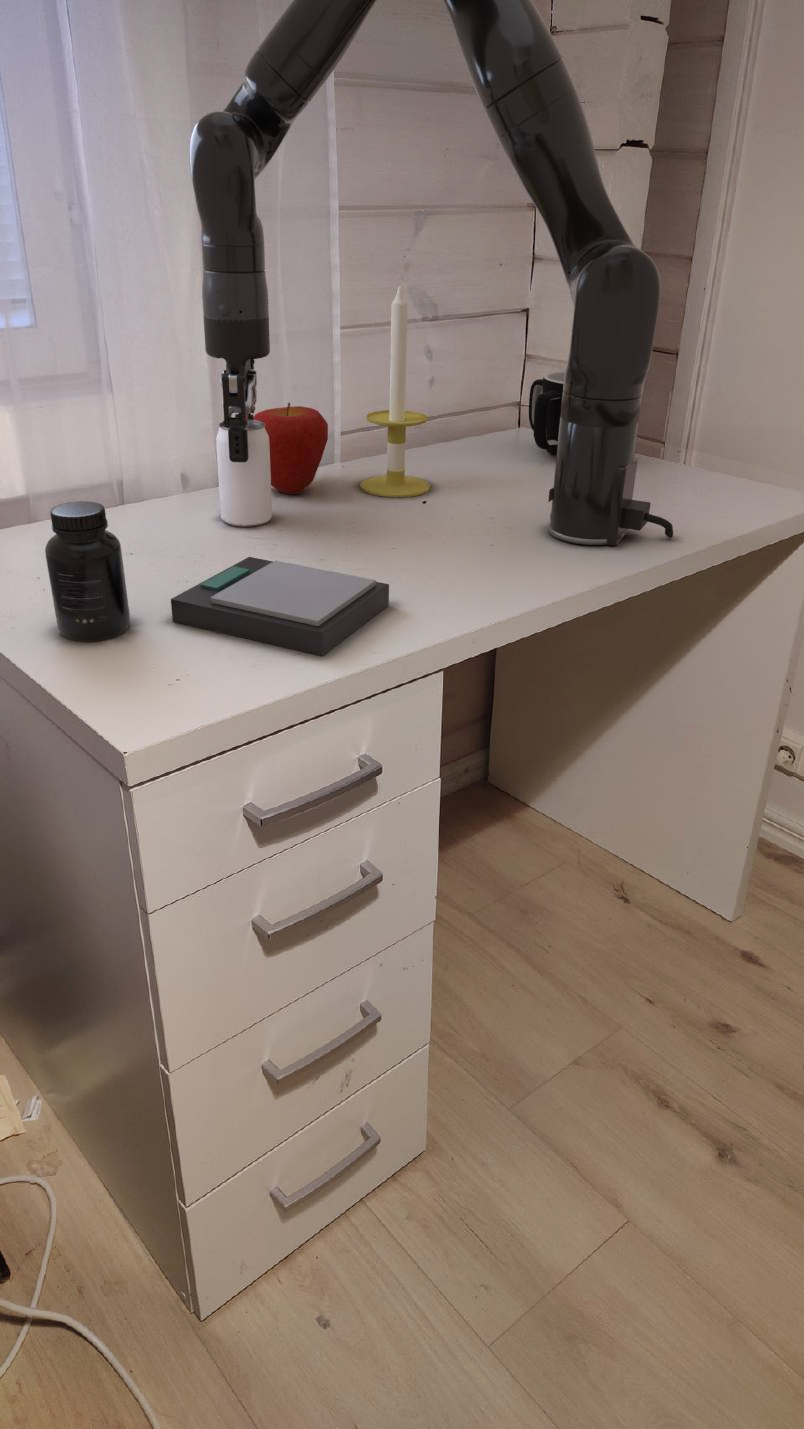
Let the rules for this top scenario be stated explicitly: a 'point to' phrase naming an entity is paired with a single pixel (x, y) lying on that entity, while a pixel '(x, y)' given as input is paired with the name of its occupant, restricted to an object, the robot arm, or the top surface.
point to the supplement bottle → (86, 573)
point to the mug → (546, 410)
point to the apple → (294, 445)
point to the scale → (282, 604)
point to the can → (245, 479)
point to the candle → (396, 416)
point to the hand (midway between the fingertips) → (242, 452)
